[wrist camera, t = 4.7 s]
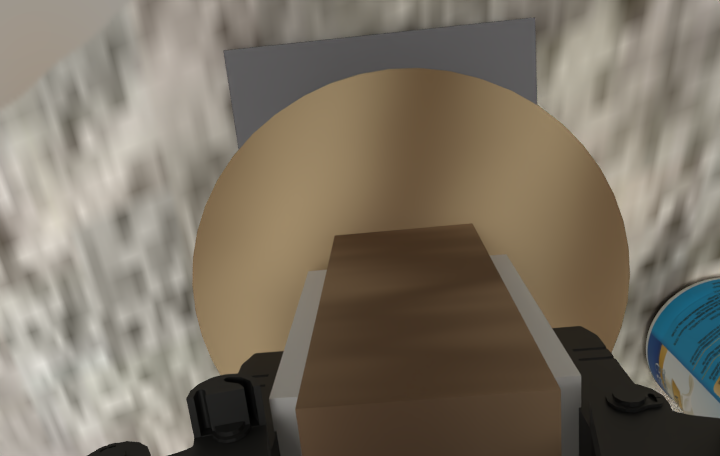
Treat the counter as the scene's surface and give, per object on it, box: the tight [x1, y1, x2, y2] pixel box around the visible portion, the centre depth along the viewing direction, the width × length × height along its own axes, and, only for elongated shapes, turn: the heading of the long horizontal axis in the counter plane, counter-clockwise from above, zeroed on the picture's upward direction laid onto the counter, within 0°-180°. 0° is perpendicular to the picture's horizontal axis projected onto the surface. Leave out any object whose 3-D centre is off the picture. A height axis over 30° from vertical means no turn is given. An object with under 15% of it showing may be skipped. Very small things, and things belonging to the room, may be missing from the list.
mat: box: [224, 17, 537, 149], centre depth 34 cm, size 16×16×1 cm
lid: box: [193, 68, 630, 456], centre depth 15 cm, size 13×13×10 cm
